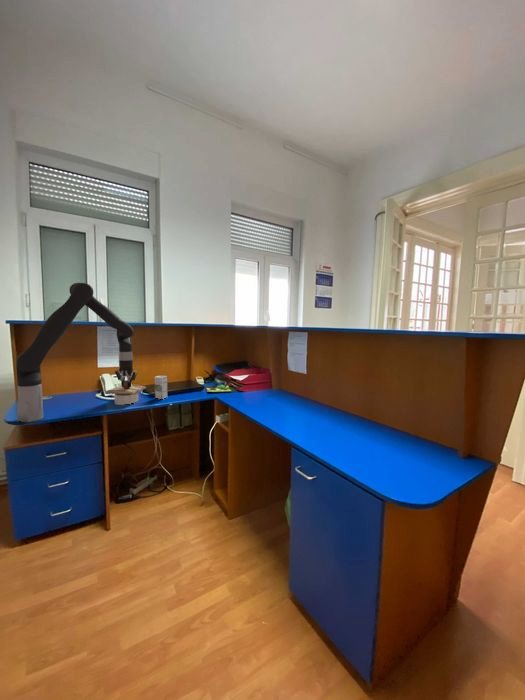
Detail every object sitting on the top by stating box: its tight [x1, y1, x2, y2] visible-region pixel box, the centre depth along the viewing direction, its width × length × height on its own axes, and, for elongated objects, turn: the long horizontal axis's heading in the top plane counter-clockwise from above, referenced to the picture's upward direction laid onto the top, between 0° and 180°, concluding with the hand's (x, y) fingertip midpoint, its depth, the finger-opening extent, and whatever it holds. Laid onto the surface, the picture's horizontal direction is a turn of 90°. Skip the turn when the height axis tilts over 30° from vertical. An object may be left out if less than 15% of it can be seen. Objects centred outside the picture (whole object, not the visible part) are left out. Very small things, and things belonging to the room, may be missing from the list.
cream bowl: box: [113, 392, 140, 406], centre depth 178 cm, size 13×13×6 cm
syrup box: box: [154, 375, 168, 400], centre depth 187 cm, size 6×6×14 cm
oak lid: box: [105, 379, 147, 395], centre depth 177 cm, size 16×16×6 cm
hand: (126, 387), depth 177 cm, fingers closed on oak lid, 3 cm apart
